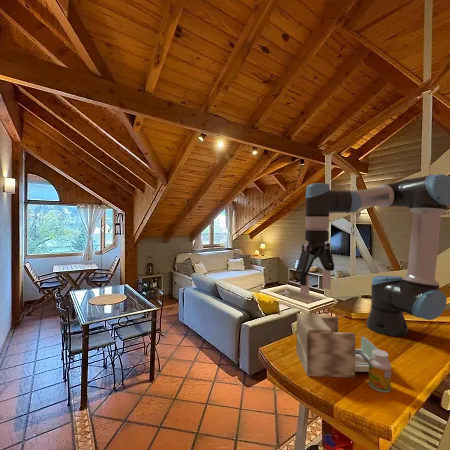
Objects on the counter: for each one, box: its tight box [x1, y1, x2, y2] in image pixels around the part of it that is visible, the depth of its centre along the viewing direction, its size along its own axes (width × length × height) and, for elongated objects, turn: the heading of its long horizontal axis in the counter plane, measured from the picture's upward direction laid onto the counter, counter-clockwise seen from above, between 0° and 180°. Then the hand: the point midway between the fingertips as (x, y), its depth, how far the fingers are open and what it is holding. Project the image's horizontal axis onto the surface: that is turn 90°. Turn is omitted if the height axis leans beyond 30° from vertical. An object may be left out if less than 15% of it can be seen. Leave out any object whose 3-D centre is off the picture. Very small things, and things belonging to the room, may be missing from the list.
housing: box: [296, 312, 356, 379], centre depth 85 cm, size 14×14×14 cm
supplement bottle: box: [368, 348, 392, 393], centre depth 73 cm, size 5×5×10 cm
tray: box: [355, 336, 380, 373], centre depth 84 cm, size 14×14×6 cm
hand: (315, 291), depth 89 cm, fingers open, 13 cm apart
